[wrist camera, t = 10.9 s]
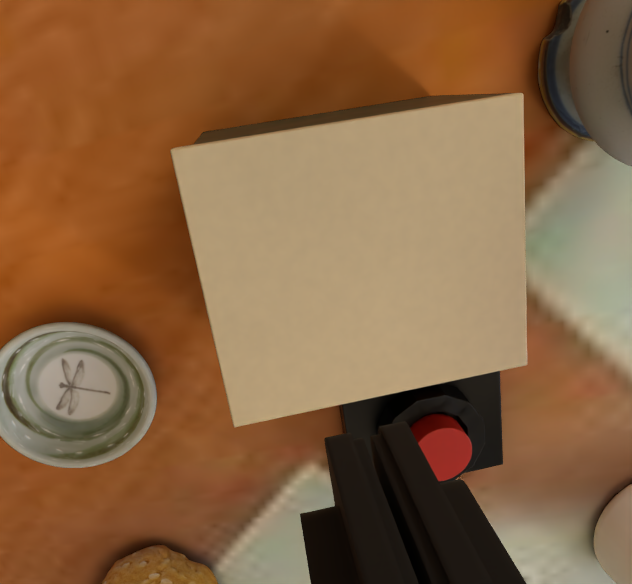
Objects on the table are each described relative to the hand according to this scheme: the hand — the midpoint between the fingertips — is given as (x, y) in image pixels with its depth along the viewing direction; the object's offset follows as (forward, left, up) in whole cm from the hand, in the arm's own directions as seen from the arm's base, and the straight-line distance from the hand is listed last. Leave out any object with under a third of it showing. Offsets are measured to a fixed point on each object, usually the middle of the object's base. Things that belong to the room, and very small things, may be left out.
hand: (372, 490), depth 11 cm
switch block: (+8, +15, -24) cm, 29 cm away
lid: (-2, +3, -14) cm, 15 cm away
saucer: (+14, -7, -24) cm, 29 cm away
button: (+8, +15, -21) cm, 27 cm away
